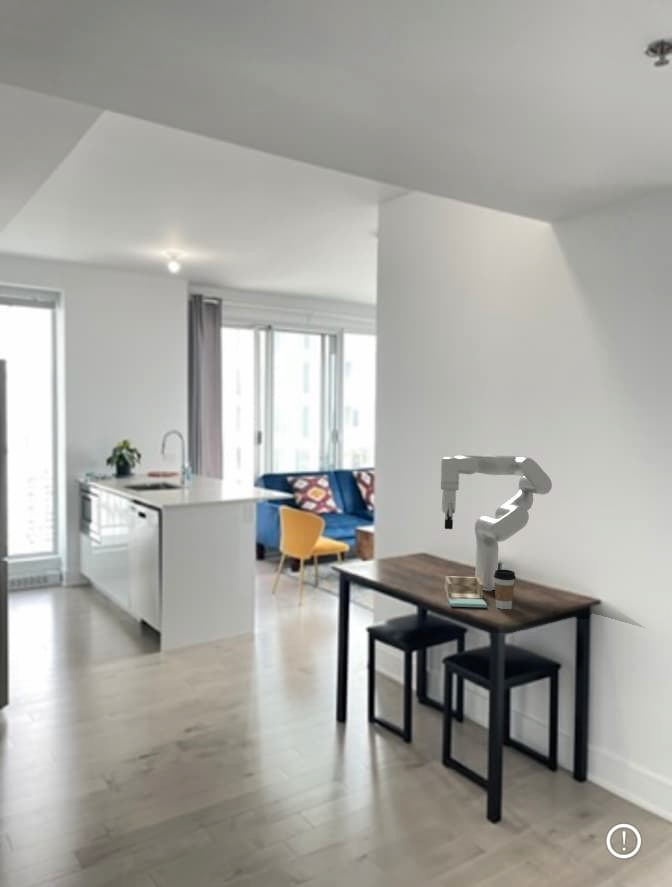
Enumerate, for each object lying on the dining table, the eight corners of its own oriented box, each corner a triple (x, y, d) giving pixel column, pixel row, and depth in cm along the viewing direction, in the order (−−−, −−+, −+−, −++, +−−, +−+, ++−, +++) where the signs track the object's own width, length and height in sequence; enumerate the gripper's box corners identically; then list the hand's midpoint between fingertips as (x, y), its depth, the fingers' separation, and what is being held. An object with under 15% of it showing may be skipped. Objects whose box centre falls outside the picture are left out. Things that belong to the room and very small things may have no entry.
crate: (478, 593, 287) (478, 577, 287) (482, 601, 275) (483, 584, 275) (444, 592, 288) (445, 576, 288) (447, 600, 276) (448, 583, 276)
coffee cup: (496, 611, 262) (497, 573, 262) (490, 604, 271) (491, 568, 270) (517, 611, 263) (518, 573, 262) (510, 605, 271) (512, 568, 270)
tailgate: (483, 599, 274) (486, 604, 265) (483, 602, 274) (486, 607, 265) (448, 598, 275) (450, 603, 266) (448, 601, 275) (450, 606, 266)
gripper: (439, 483, 295) (438, 525, 296) (442, 488, 280) (441, 531, 281) (456, 484, 295) (455, 525, 296) (460, 488, 280) (459, 532, 281)
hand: (448, 528), depth 288 cm, fingers closed
